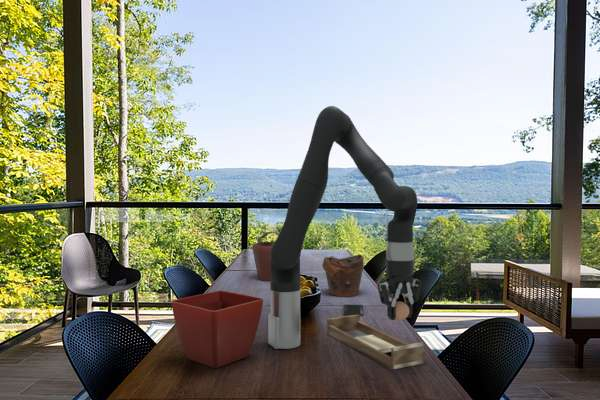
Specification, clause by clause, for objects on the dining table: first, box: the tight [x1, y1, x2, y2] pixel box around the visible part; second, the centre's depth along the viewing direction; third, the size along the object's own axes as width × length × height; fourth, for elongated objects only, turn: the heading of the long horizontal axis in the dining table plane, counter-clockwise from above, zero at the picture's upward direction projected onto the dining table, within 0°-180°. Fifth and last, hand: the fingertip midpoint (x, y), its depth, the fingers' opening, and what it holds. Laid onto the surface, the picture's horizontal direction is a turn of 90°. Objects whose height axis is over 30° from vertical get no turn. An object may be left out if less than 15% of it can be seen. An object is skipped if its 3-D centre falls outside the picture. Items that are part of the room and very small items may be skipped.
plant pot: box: [171, 290, 264, 369], centre depth 137 cm, size 19×19×17 cm
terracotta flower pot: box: [322, 254, 365, 298], centre depth 219 cm, size 18×20×18 cm
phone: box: [342, 303, 364, 318], centre depth 189 cm, size 8×1×15 cm
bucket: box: [252, 230, 280, 283], centre depth 255 cm, size 24×22×25 cm
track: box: [326, 315, 427, 371], centre depth 146 cm, size 12×35×6 cm, turn 25°
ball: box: [394, 300, 409, 321], centre depth 134 cm, size 5×5×5 cm
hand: (400, 317), depth 134 cm, fingers closed on ball, 5 cm apart
